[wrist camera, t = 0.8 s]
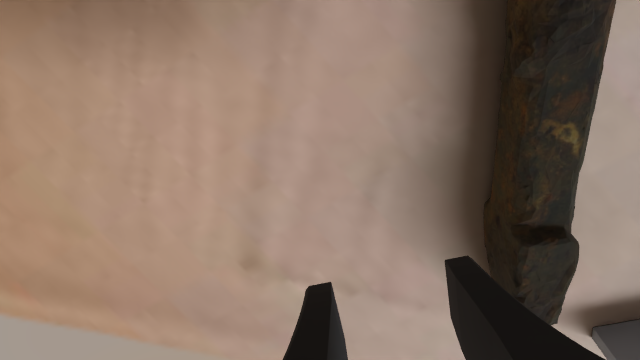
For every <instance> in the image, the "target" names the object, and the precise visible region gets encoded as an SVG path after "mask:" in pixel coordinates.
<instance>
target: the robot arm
mask: <svg viewBox="0 0 640 360" xmlns="http://www.w3.org/2000/svg"><path fill="white" fill-rule="evenodd" d="M445 267H446V277H447V286H448V296H449V305H450V314H451V319H452V322H453V325H454V328H455V332H456V335H457V338H458V341H459V343H460V346H461V349H462V352H463V354H464V356H465V359H466V360H605V359H603V358H602V357H600V356H598V355H596V354H594V353H593V352H591V351H589V350H588V349H586V348H584V347H583V346H581V345H579V344H578V343H576V342H575V341H573V340H571V339H570V338H568V337H567V336H565V335H564V334H562V333H561V332H559V331H558V330H556V329H555V328H554V327H552V326H551V325H549V324H548V323H547V322H545V321H544V320H542V319H541V318H540V317H538V316H537V315H536V314H534V313H533V312H532V311H531V310H529V309H528V308H527V307H525V306H524V305H523V304H522V303H521V302H519V301H518V300H517V299H516V298H514V297H513V296H512V295H511V294H510V293H508V292H507V291H506V290H505V289H504V288H503V287H501V286H500V285H499V284H498V283H497V282H496V281H495V280H494V279H493V278H491V277H490V276H489V275H488V274H487V273H486V272H485V271H484V270H483V269H482V268H481V267H480V266H479V265H478V264H477V263H476V262H475V261H474V260H473V259H472V258H470V257H469V256H463V257H458V258H453V259H448V260H445ZM283 360H348V357H347V351H346V344H345V338H344V333H343V329H342V325H341V321H340V317H339V313H338V309H337V304H336V300H335V296H334V292H333V288H332V284H331V282H328V283H323V284H317V285H312V286H309V287H308V288H307V289H306V292H305V297H304V301H303V305H302V309H301V312H300V315H299V319H298V322H297V325H296V328H295V330H294V333H293V336H292V338H291V341H290V344H289V346H288V349H287V351H286V353H285V356H284V358H283Z"/></svg>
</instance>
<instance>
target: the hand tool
mask: <svg viewBox="0 0 640 360" xmlns="http://www.w3.org/2000/svg"><path fill="white" fill-rule="evenodd" d="M615 4H616V0H508V2H507V18H506V36H507V43H506V57H505V63H504V69H503V71H502V73H501V75H500V80H501V98H500V111H499V123H498V134H497V144H496V152H495V164H494V174H493V181H492V193H491V198H490V199H489V200H488V201H487V202H486V203H485V204H484V235H485V247H486V249H487V257H488V262H489V267H490V272H491V276H492V278H493V279H494V280H495V281H496V282H497V283H498V284H499V285H500V286H501V287H503V288H504V289H505V290H506V291H507V292H508V293H510V294H511V295H512V296H513V297H514V298H516V299H517V300H518V301H519V302H521V303H522V304H523V305H524V306H525V307H527V308H528V309H529V310H531V311H532V312H533V313H534V314H536V315H537V316H538V317H540V318H541V319H542V320H544V321H545V322H547V323H548V324H549V325H553V324H557V322H558V317H559V315H560V313H561V311H562V305H563V302H564V299H565V294H566V292H567V289H568V287H569V285H570V283H571V280H572V278H573V276H574V273H575V271H576V267H577V263H578V258H579V244H578V241H577V240H576V239H575V238H574V236H573V235H572V234H571V224H572V220H573V217H574V209H575V206H574V205H575V197H576V190H577V184H578V177H579V172H580V169H581V167H582V164H583V161H584V156H585V151H586V146H587V141H588V136H589V131H590V126H591V121H592V116H593V112H594V109H595V104H596V99H597V94H598V89H599V83H600V79H601V75H602V70H603V61H604V56H605V52H606V47H607V43H608V38H609V33H610V27H611V22H612V18H613V13H614V9H615Z"/></svg>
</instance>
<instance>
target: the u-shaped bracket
mask: <svg viewBox="0 0 640 360" xmlns="http://www.w3.org/2000/svg"><path fill="white" fill-rule="evenodd" d="M592 339H593V340H594V342H595V343H596V344H597V346H598V347H599V349H600V350H601V351H602V353H603V354H604V356H605V357H606V359H607V360H640V319H639V320H633V321H628V322H622V323H617V324H611V325H605V326H600V327H594V328H593V333H592Z"/></svg>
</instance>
